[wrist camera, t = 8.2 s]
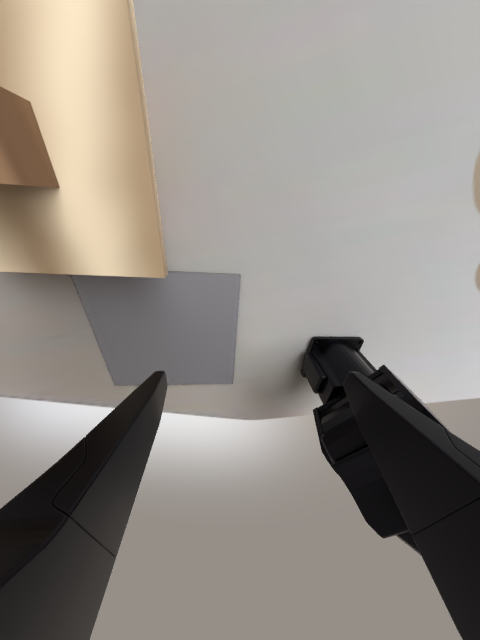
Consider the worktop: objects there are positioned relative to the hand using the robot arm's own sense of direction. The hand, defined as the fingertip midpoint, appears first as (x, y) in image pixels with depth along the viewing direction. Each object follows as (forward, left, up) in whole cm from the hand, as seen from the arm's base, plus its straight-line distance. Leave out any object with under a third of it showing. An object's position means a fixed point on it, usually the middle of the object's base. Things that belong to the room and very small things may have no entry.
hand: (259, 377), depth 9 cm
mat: (+8, +6, -12) cm, 15 cm away
